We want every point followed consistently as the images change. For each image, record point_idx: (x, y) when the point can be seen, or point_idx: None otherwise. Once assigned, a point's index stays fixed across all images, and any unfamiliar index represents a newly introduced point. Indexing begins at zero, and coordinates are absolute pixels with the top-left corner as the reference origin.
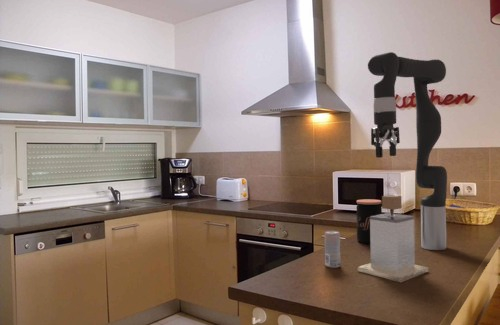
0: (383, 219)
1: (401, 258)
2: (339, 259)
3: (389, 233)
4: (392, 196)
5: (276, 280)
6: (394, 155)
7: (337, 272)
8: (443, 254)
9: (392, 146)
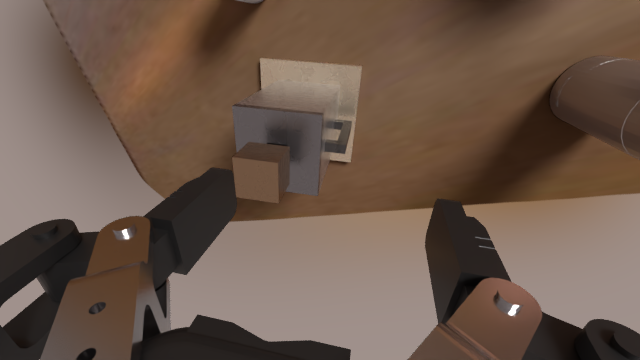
0: (237, 148)
1: None
2: (251, 2)
3: None
4: (252, 185)
5: None
6: (426, 239)
7: (226, 27)
8: (513, 135)
9: (447, 297)
